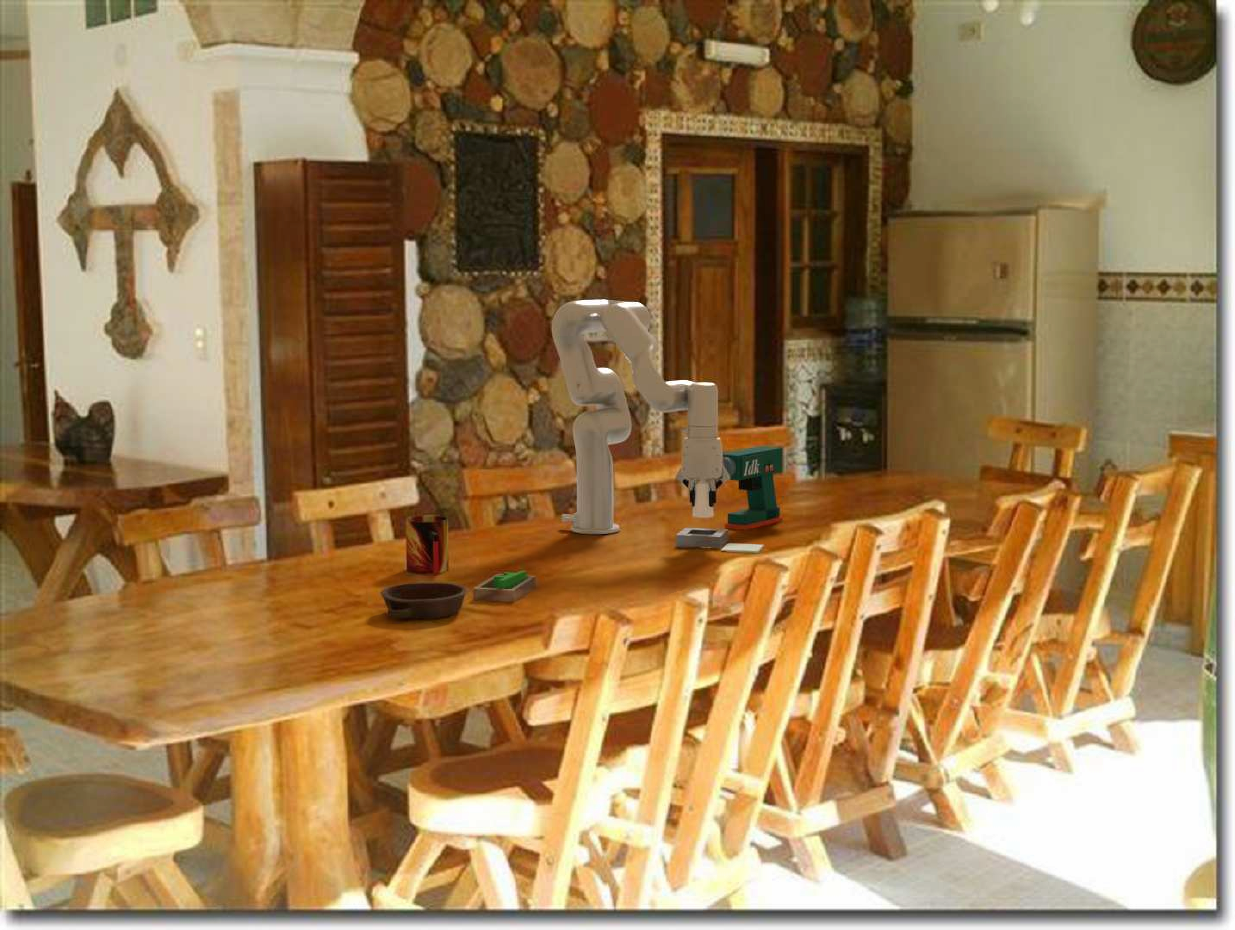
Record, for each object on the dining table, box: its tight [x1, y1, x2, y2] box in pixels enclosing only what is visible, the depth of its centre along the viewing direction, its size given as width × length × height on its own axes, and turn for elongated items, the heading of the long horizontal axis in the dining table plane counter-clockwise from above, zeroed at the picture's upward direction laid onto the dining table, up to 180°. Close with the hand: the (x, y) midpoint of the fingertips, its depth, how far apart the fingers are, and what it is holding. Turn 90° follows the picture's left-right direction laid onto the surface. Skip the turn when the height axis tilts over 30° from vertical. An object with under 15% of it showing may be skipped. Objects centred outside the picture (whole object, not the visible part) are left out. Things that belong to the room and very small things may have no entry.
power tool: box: [717, 445, 783, 531], centre depth 441 cm, size 32×7×20 cm, turn 143°
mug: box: [405, 514, 450, 575], centre depth 383 cm, size 10×14×12 cm
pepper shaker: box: [692, 479, 715, 519], centre depth 416 cm, size 5×5×11 cm
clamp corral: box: [472, 573, 537, 603], centre depth 359 cm, size 9×16×2 cm, turn 166°
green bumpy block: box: [493, 570, 528, 589], centre depth 358 cm, size 11×4×5 cm, turn 157°
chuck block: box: [675, 527, 729, 549], centre depth 418 cm, size 11×11×3 cm
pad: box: [720, 542, 765, 554], centre depth 411 cm, size 9×9×1 cm
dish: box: [380, 581, 469, 620], centre depth 340 cm, size 18×22×5 cm
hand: (703, 505), depth 416 cm, fingers closed on pepper shaker, 3 cm apart
